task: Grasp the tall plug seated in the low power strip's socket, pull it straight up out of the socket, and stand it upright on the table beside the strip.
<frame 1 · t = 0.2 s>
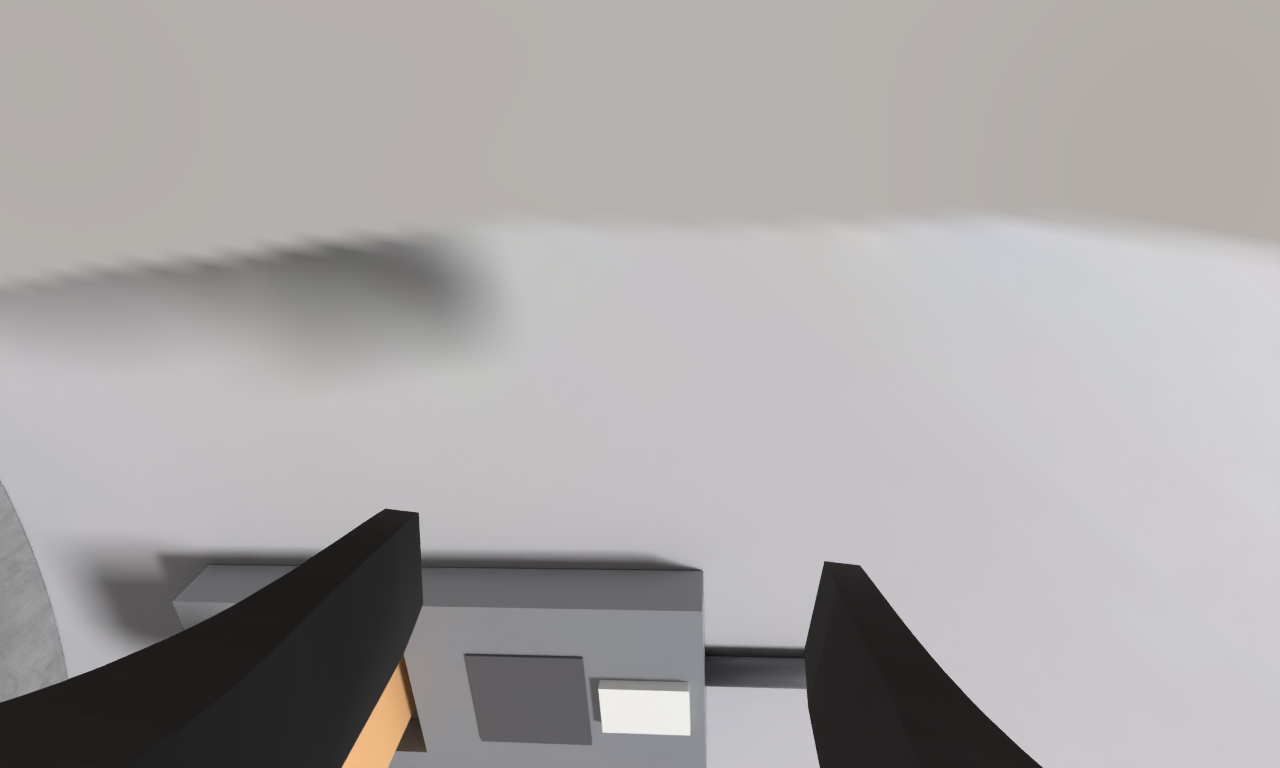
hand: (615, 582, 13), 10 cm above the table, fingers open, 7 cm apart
power strip: (464, 654, 27), on the table
plug: (356, 661, 27), resting on power strip
hip flask: (18, 621, 29), on the table
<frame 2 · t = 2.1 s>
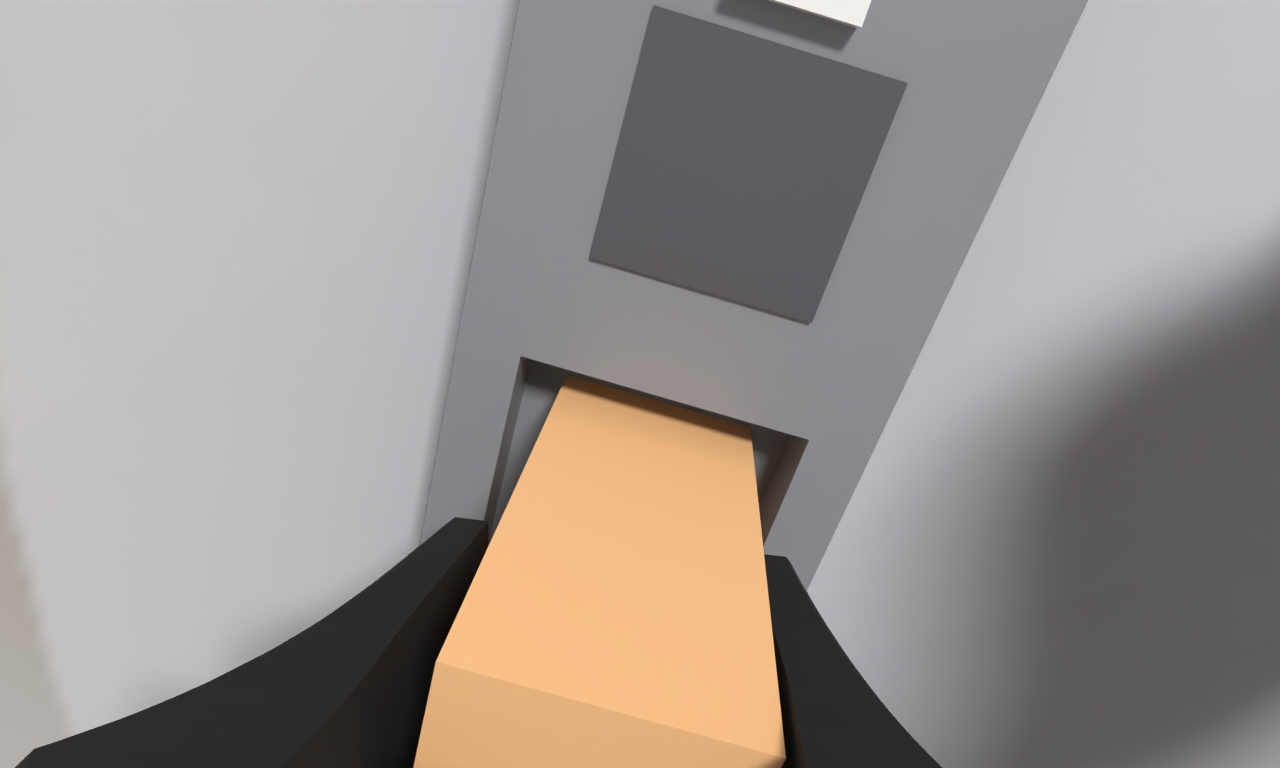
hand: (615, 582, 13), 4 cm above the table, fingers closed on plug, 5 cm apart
power strip: (687, 306, 15), on the table
plug: (633, 479, 16), resting on power strip, touching gripper
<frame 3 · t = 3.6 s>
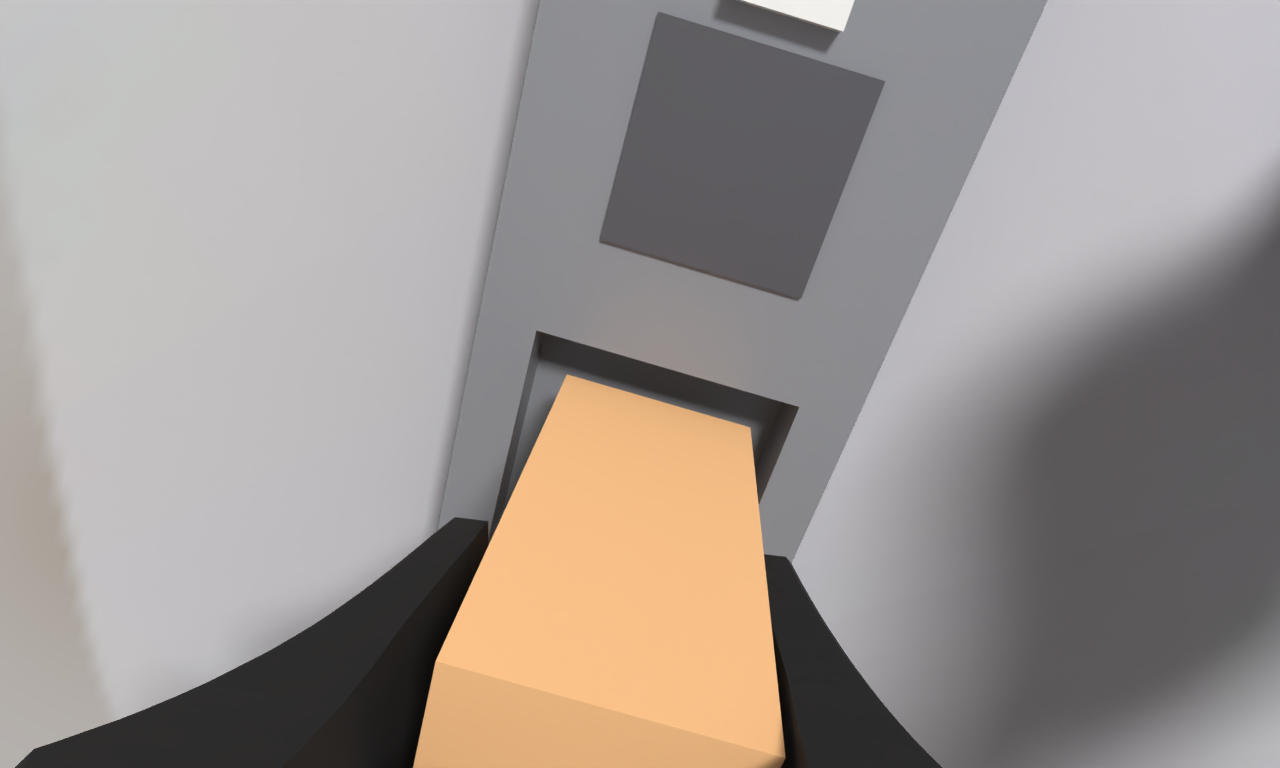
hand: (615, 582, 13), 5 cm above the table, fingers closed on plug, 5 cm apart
power strip: (688, 286, 16), on the table
plug: (633, 479, 16), point 2 cm above the table, touching gripper
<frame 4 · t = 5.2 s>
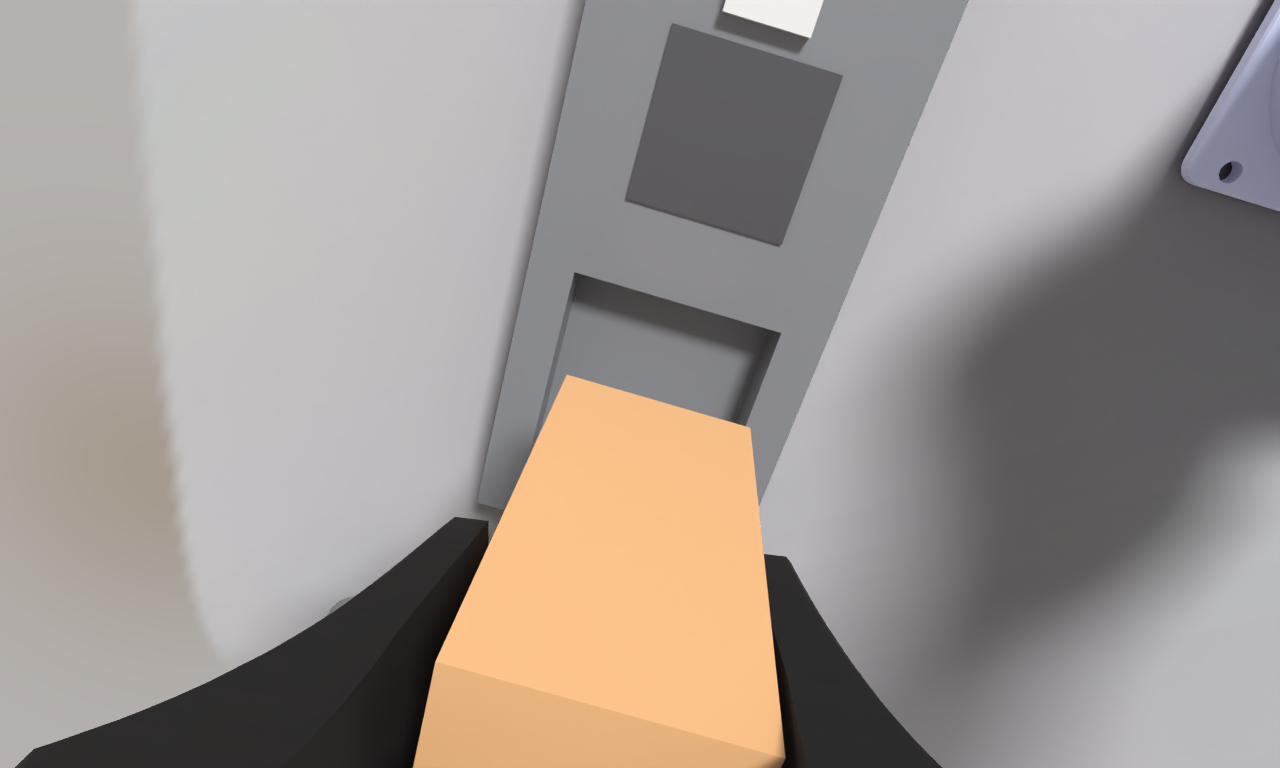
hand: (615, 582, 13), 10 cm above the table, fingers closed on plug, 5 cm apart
power strip: (693, 241, 20), on the table
plug: (633, 479, 16), point 6 cm above the table, touching gripper
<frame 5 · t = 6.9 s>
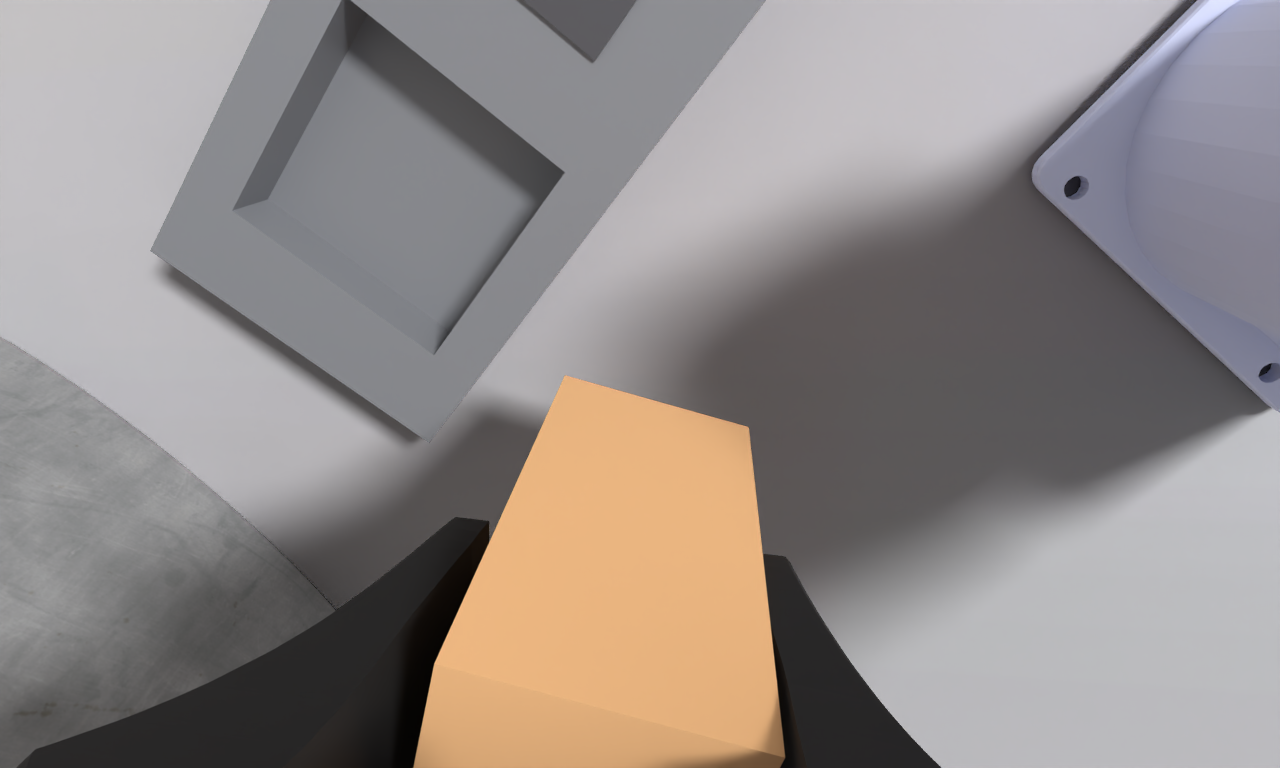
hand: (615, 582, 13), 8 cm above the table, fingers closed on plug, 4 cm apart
power strip: (512, 39, 17), on the table
plug: (632, 479, 16), point 4 cm above the table, touching gripper
hip flask: (181, 513, 24), on the table
when the fingers open (5 cm above the table, at t = 8.4 s): plug drops 1 cm, on the table.
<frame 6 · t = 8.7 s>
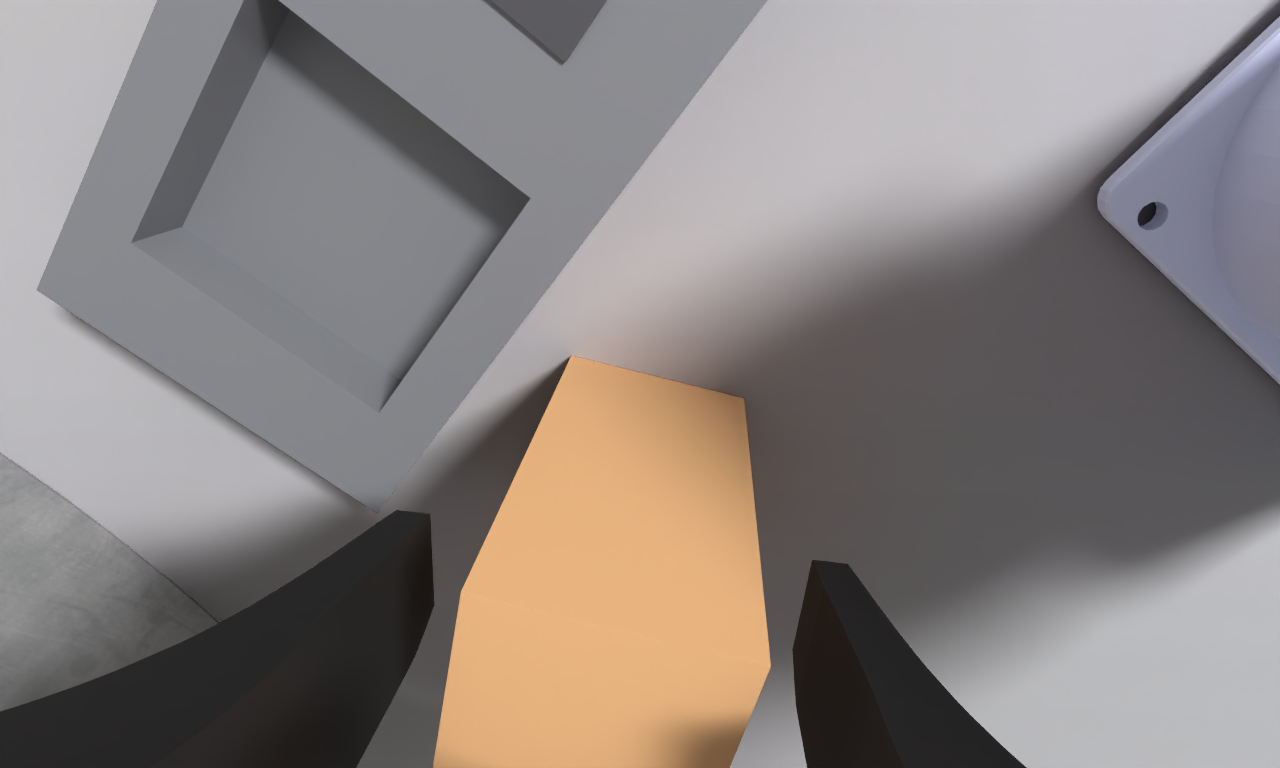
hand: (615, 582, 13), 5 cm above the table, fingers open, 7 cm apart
power strip: (469, 36, 14), on the table
plug: (638, 452, 17), on the table
hip flask: (105, 578, 21), on the table
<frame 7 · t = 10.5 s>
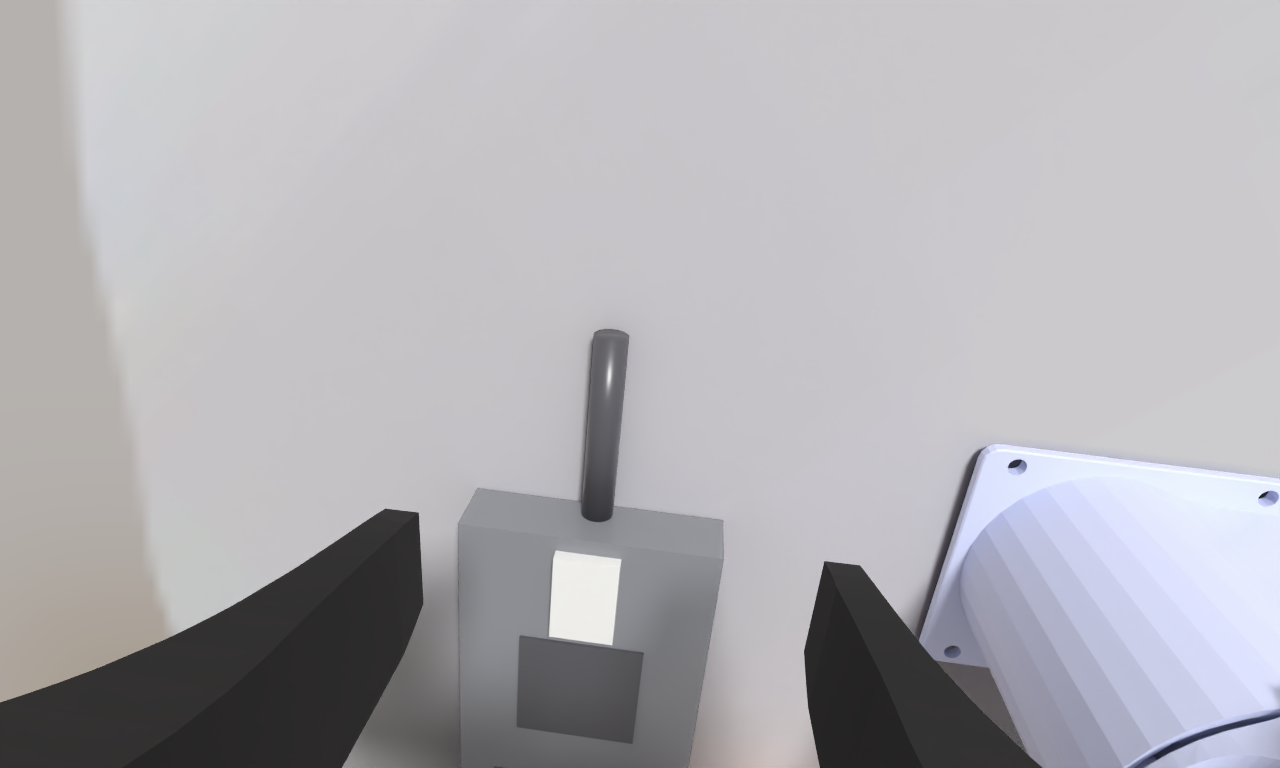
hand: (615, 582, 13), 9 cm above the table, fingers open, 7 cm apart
power strip: (582, 707, 27), on the table
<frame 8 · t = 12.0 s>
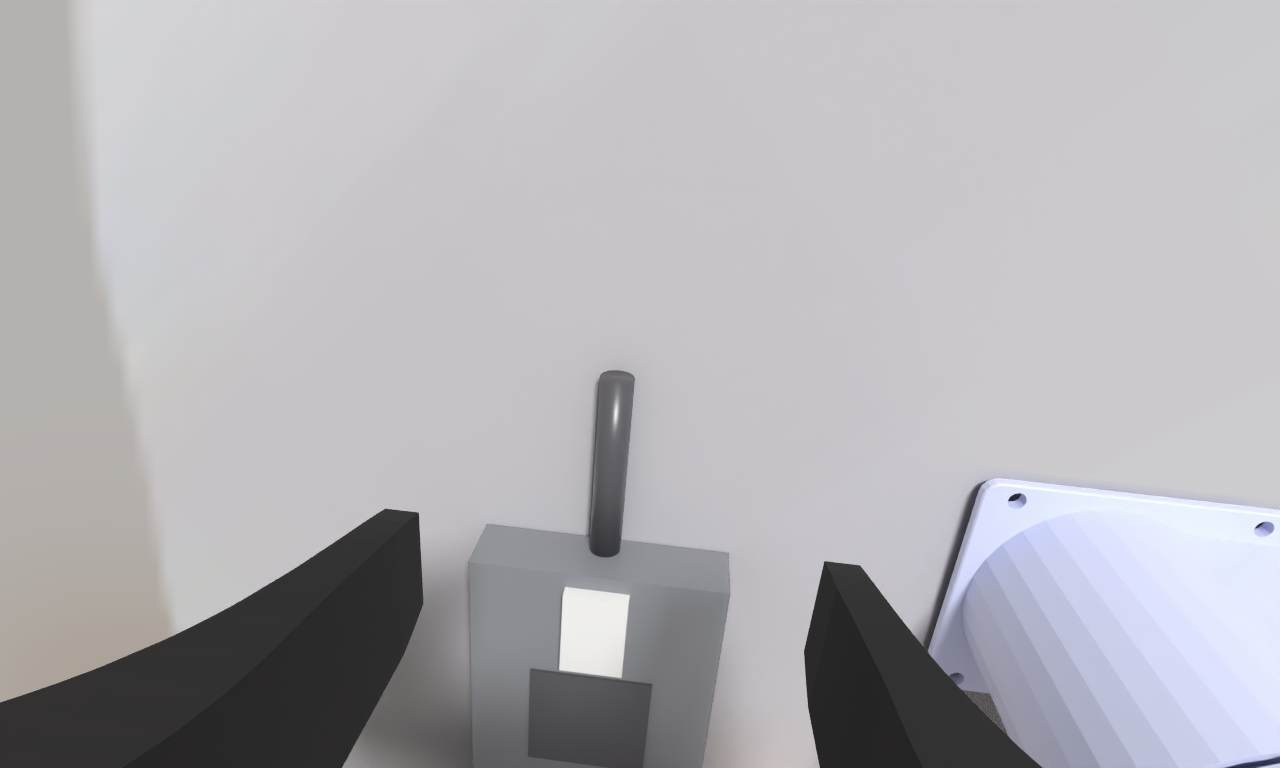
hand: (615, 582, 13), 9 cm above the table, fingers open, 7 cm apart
power strip: (592, 734, 28), on the table
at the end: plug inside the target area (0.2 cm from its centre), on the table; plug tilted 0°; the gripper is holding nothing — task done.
